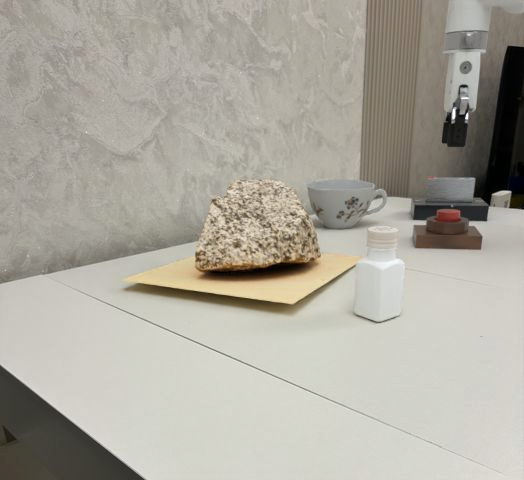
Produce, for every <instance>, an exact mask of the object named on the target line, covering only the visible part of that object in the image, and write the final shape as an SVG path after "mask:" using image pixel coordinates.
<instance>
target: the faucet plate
mask: <svg viewBox="0 0 524 480" xmlns="http://www.w3.org/2000/svg"><path fill="white" fill-rule="evenodd" d="M425 197H426V196H425ZM425 197H419V196H417V197H415V196H414V197H413V196H412V197H411V199H410V212H409V213H410V215H411V219H412V220H413V221H426V220H427V218H428V217H431V216H437V210H440V209H455V210H459V211H460V217H464V218H468V220H469V222H488V218H489V217H488V216H489V210H490V205H489V204H488V203H487V202H486V201H484V199H482V198H481V197H473V201H472V202H426V200H425Z"/></svg>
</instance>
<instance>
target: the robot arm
mask: <svg viewBox="0 0 524 480" xmlns="http://www.w3.org/2000/svg"><path fill="white" fill-rule="evenodd" d="M447 3H448V4H447V10H446V11H447V12H446V21H445V31H444V38H443V46H442V47H443V48H442V56H448V61H447V69H446V77H445V87H444V99H443V110H444V111H445V115H444V116H445V117H444V122H443V125H442V134H441V144H444V145H445V144H446V146H447V147H448V148H464V147H466V141H467V135H468V128H469V123H468V122H469V113H474V112H475V111H476V109H477V104H478V103H477V101H478V92H479V91H478V90H479V83H480V71H481V55H485V54H487V47H488V40H489V32H490V26H491V25H490V24H491V17H492V10H493V7H500V8H502V10H503V11H504V12H506V13H508V14H511V15H520V14H523V13H524V0H448V2H447Z"/></svg>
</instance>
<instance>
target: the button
mask: <svg viewBox="0 0 524 480" xmlns="http://www.w3.org/2000/svg"><path fill="white" fill-rule="evenodd" d="M459 219H460V211H459V210H455V209H440V210H437V216H436V220H437V221H444V222H456V221H459Z"/></svg>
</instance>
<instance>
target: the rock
mask: <svg viewBox="0 0 524 480" xmlns="http://www.w3.org/2000/svg"><path fill="white" fill-rule="evenodd" d="M197 241H198V242H197V244H196V246H195V252H194V255H191V256H189V257H186V258H183V259H180V260H176V261H174V262H170V263H167V264H165V265H162V266H159V267H155V268H153V269H149V270H146V271H144V272H141V273H137V274H135V275H131V276H128V277H125V278H122V279H120V281H121V282H122V281H123V282H130V283H136V284H137V283H138V284H145V285H151V286H159V287H167V288H173V289H179V290H186V291H195V292H201V293H209V294H216V295H223V296H231V297H237V298H245V299H246V298H247V299H252V300H258V301H266V302H267V301H268V302H273V303H282V304H289V305H294V304H296V303H298V302H299V301H300V300H302V299H305V297H306V296H309V294H311V293H314V292H315V291H316V290H318V289H319V288H321V287H323V286H324V285H326V284H328V283H329V282H330V281H332V280H334V279H335V278H337V277H338V276H340V275H341V274H343V273H344V272H346V271H348V270H349V269H351V268H353V267H354V266H356V263H357V262H358V260H360V259H362V258H364V257H365V256H357V255H348V254H336V253H326V252H325V253H324V252H321V248H320V245H319V243H318V241H319V240H318V236H317V233H316V229H315V227H314V223H313V221H312V220H311V217H310V216H309V214H308V211H307V209H305V207H304V204H303V203H302V202H301V200H300V197H299V194H298V191H297V190H296V189H295V188H294V187H291V186H290V187H289V186H288V185H287V184H285V182H284V181H283V180H279V179H274V178H262V179H247V178H243V179H242V178H241V179H235V180H233V181H232V183H230V184H229V185H228V188H227V190H226V192H225V194H224V196H220V195H218V194H215V195H212V198H211V202H210V205H209V212H208V213H207V216H206V219H205V222H204V226H203V228H202V231H200V233H199V236H198V240H197ZM214 271H215V272H214Z"/></svg>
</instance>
